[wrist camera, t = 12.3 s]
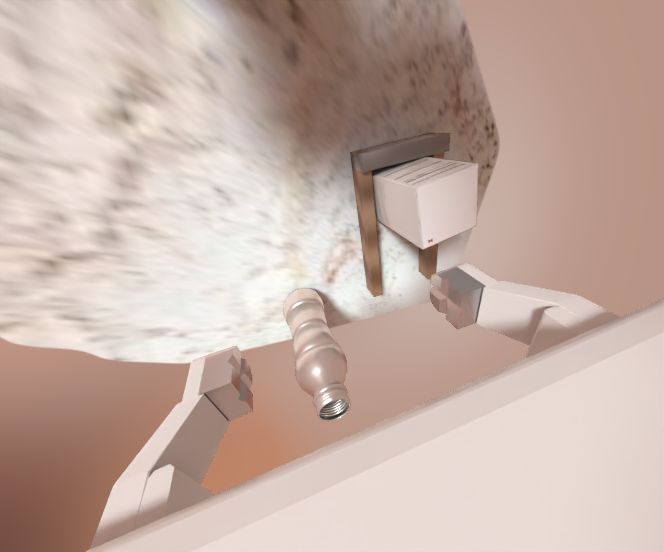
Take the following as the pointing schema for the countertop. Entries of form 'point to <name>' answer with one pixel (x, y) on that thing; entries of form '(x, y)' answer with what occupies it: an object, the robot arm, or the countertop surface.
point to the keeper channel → (363, 183)
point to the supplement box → (427, 198)
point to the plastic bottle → (317, 354)
